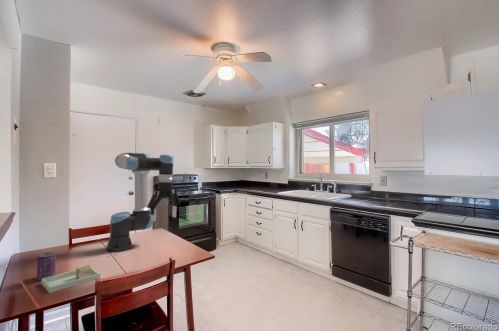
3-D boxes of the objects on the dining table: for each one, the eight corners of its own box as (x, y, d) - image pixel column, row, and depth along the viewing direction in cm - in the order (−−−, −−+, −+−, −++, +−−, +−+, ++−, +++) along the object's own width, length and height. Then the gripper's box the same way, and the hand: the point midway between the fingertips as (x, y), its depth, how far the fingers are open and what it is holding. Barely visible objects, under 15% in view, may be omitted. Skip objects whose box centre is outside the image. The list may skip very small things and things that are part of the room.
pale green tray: (41, 285, 117) (41, 278, 117) (89, 272, 133) (90, 266, 133) (49, 295, 109) (49, 287, 109) (100, 279, 125) (100, 273, 125)
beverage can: (43, 276, 127) (44, 251, 127) (58, 275, 127) (59, 251, 127) (32, 282, 120) (33, 257, 120) (48, 282, 120) (49, 257, 120)
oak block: (75, 277, 124) (76, 267, 124) (87, 274, 128) (87, 264, 128) (79, 280, 121) (79, 270, 121) (91, 277, 125) (91, 267, 125)
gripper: (149, 183, 134) (147, 223, 134) (187, 181, 154) (185, 216, 154) (141, 181, 138) (140, 221, 139) (179, 180, 158) (178, 214, 158)
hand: (164, 218), depth 146 cm, fingers open, 13 cm apart
